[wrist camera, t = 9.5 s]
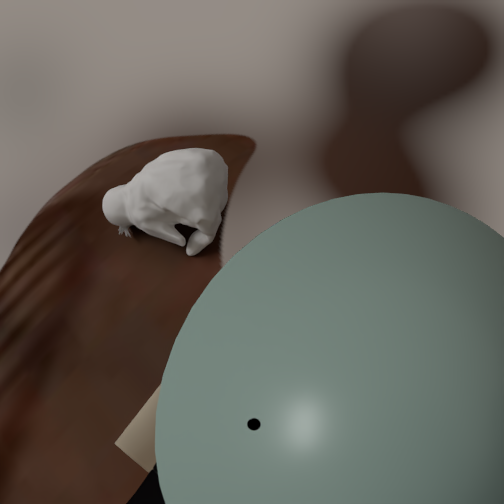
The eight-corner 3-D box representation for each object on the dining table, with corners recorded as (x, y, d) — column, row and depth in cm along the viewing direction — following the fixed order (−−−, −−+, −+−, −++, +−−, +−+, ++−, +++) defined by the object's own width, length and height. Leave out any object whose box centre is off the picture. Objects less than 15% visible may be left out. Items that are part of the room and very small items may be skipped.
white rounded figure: (207, 189, 18) (63, 193, 20) (230, 262, 25) (109, 253, 27) (227, 129, 22) (98, 141, 24) (241, 204, 29) (131, 203, 31)
